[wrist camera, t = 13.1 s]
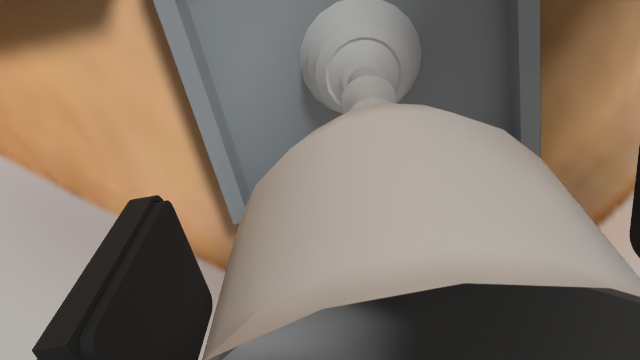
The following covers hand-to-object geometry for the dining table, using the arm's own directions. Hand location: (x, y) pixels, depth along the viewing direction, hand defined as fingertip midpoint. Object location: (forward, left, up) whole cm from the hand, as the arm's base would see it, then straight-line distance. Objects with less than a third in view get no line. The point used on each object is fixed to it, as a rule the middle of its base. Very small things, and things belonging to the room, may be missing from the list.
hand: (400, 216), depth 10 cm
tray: (0, 0, -13) cm, 13 cm away
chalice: (0, 0, -13) cm, 13 cm away
